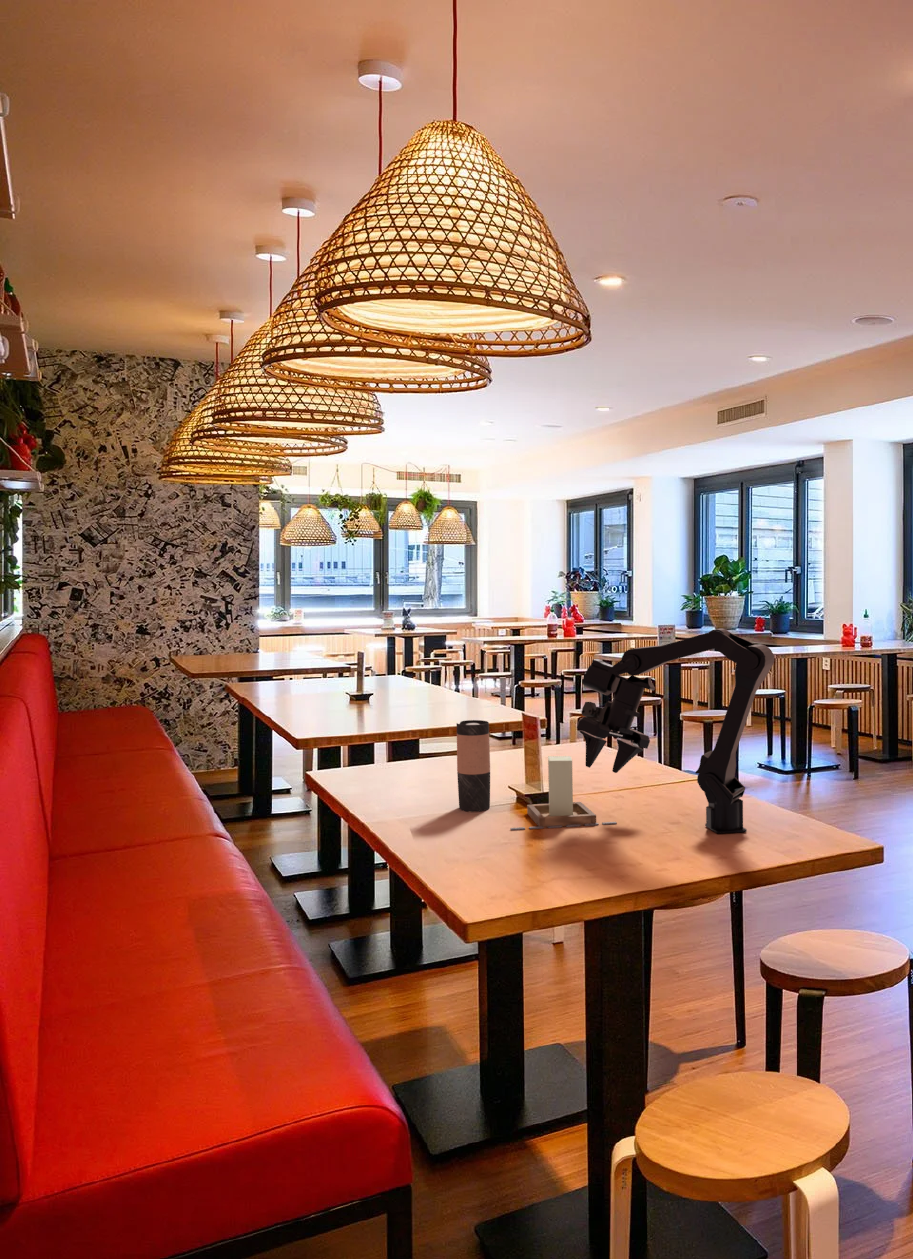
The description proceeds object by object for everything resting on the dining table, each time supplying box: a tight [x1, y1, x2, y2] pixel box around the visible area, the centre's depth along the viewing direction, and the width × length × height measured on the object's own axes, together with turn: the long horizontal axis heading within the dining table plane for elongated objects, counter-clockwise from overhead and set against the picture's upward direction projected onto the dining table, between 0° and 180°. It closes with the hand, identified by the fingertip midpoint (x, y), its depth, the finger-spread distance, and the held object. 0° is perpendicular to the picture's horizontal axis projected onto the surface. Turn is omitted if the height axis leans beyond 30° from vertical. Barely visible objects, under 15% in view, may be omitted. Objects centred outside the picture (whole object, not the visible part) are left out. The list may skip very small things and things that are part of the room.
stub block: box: [547, 755, 574, 816], centre depth 206 cm, size 5×5×13 cm
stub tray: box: [526, 801, 597, 829], centre depth 207 cm, size 12×12×2 cm
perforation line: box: [510, 821, 618, 831], centre depth 200 cm, size 23×1×1 cm, turn 98°
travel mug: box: [456, 719, 491, 812], centre depth 218 cm, size 8×8×20 cm
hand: (601, 769), depth 206 cm, fingers open, 9 cm apart
